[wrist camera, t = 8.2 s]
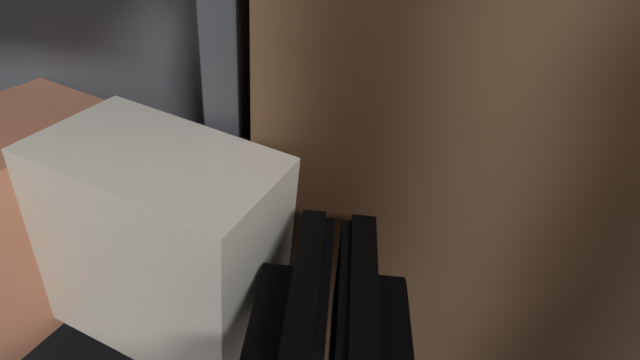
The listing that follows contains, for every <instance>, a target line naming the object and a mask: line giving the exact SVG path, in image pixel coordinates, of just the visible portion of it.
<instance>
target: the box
mask: <svg viewBox="0 0 640 360" xmlns="http://www.w3.org/2000/svg"><path fill="white" fill-rule="evenodd" d="M38 78H43V79H46V80H49V81H52V82H55V83H58V84H61V85H63V86H66V87H69V88H72V89H75V90H78V91H81V92H84V93H86V94H89V95H92V96H95V97H98V98H101V99H104V100H107V99H109V98H111V97H113V96H115V95H116V96H119V97H122V98H125V99H128V100H131V101H134V102H136V103H139V104H142V105H145V106H148V107H151V108H154V109H157V110H160V111H163V112H166V113H169V114H172V115H175V116H178V117H181V118H184V119H187V120H190V121H192V122H195V123H198V124H201V125H204V126H207V127H210V128H213V129H216V130H219V131H222V132H225V133H228V134H231V135H234V136H237V137H240V138H243V139H245V140H248V141H251V115H250V4H249V0H0V92H1V91H4V90H7V89H9V88H12V87H15V86H18V85H21V84H24V83H27V82H29V81H32V80H35V79H38ZM21 360H134V359H132V358H130V357H128V356H126V355H124V354H122V353H121V352H119V351H117V350H115V349H113V348H111V347H109V346H107V345H105V344H103V343H102V342H100V341H98V340H96V339H94V338H92V337H90V336H88V335H86V334H84V333H83V332H81V331H79V330H77V329H75V328H73V327H71V326H69V325H67V324H65V323H63V324H62V325H61V326H60V327H59V328H58V329H56V330H55V331H54V332H53V333H52V334H50V335H49V336H48V337H47V338H46V339H45V340H43V341H42V342H41V343H40V344H39V345H38V346H36V347H35V348H34V349H33V350H32V351H31V352H29V353H28V354H27V355H26V356H25V357H24V358H22V359H21Z"/></svg>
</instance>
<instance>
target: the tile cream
mask: <svg viewBox="0 0 640 360" xmlns="http://www.w3.org/2000/svg"><path fill="white" fill-rule="evenodd" d="M1 151H2V154H3V157H4V160H5V163H6V166H7V170H8V173H9V176H10V179H11V182H12V185H13V189H14V192H15V195H16V198H17V201H18V204H19V208H20V211H21V214H22V217H23V220H24V224H25V227H26V230H27V233H28V236H29V239H30V243H31V246H32V249H33V252H34V255H35V258H36V262H37V265H38V268H39V271H40V274H41V278H42V281H43V284H44V287H45V290H46V293H47V297H48V300H49V303H50V306H51V309H52V312H53V316H54V318H56V319H58V320H60V321H62V322H64V323H65V324H67V325H69V326H71V327H73V328H75V329H77V330H79V331H81V332H83V333H84V334H86V335H88V336H90V337H92V338H94V339H96V340H98V341H100V342H102V343H103V344H105V345H107V346H109V347H111V348H113V349H115V350H117V351H119V352H121V353H122V354H124V355H126V356H128V357H130V358H132V359H134V360H239V359H240V355H241V350H242V346H243V342H244V338H245V334H246V330H247V326H248V322H249V318H250V314H251V310H252V306H253V302H254V298H255V294H256V290H257V286H258V282H259V278H260V274H261V270H262V267H263V264H264V263H272V264H281V265H289V262H290V253H291V243H292V234H293V224H294V215H295V206H296V196H297V187H298V177H299V168H300V158H298V157H296V156H293V155H290V154H287V153H284V152H281V151H278V150H275V149H272V148H269V147H266V146H263V145H260V144H257V143H254V142H251V141H248V140H245V139H243V138H240V137H237V136H234V135H231V134H228V133H225V132H222V131H219V130H216V129H213V128H210V127H207V126H204V125H201V124H198V123H195V122H192V121H190V120H187V119H184V118H181V117H178V116H175V115H172V114H169V113H166V112H163V111H160V110H157V109H154V108H151V107H148V106H145V105H142V104H139V103H136V102H134V101H131V100H128V99H125V98H122V97H119V96H116V95H115V96H113V97H111V98H109V99H107V100H105V101H102V102H100V103H98V104H96V105H94V106H92V107H90V108H88V109H85V110H83V111H81V112H79V113H77V114H75V115H73V116H71V117H68V118H66V119H64V120H62V121H60V122H58V123H56V124H54V125H51V126H49V127H47V128H45V129H43V130H41V131H39V132H37V133H34V134H32V135H30V136H28V137H26V138H24V139H22V140H20V141H17V142H15V143H13V144H11V145H9V146H7V147H5V148H2V149H1Z"/></svg>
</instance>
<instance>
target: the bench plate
mask: <svg viewBox="0 0 640 360" xmlns="http://www.w3.org/2000/svg"><path fill="white" fill-rule="evenodd" d="M249 4H250V115H251V142H254V143H257V144H260V145H263V146H266V147H269V148H272V149H275V150H278V151H281V152H284V153H287V154H290V155H293V156H296V157H298V158H300V168H299V177H298V187H297V196H296V206H295V215H294V224H293V234H292V243H291V253H290V262H289V265H291V266H294V260H295V254H296V249H297V243H298V237H299V231H300V225H301V220H302V214H303V209H305V210H315V211H325V212H327V213H326V218H332V219H335V229H334V242H333V254H332V267H331V280H330V293H329V306H328V319H327V332H326V345H325V357H324V360H328V357H329V343H330V329H331V314H332V303H333V294H334V286H335V278H336V269H337V261H338V253H339V244H340V236H341V228H342V220H351V219H352V214H356V215H366V216H376V223H377V249H378V274H379V275H388V276H398V277H405V279H406V283H407V292H408V301H409V311H410V320H411V330H412V339H413V349H414V358H415V360H640V0H249Z"/></svg>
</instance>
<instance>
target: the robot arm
mask: <svg viewBox="0 0 640 360" xmlns="http://www.w3.org/2000/svg"><path fill="white" fill-rule="evenodd" d="M326 213H327V212H325V211H315V210H305V209H303V214H302V220H301V225H300V231H299V237H298V243H297V249H296V254H295V260H294V266H291V265H281V264H272V263H264V264H263V267H262V270H261V274H260V278H259V282H258V286H257V290H256V294H255V298H254V302H253V306H252V310H251V314H250V318H249V322H248V326H247V330H246V334H245V338H244V342H243V346H242V350H241V355H240V359H239V360H324V357H325V345H326V332H327V319H328V306H329V293H330V280H331V267H332V254H333V242H334V229H335V219H332V218H326ZM328 360H415V358H414V349H413V339H412V330H411V320H410V311H409V301H408V292H407V283H406V279H405V277H398V276H388V275H379V274H378V249H377V223H376V216H366V215H356V214H352V219H351V220H342V228H341V236H340V244H339V253H338V261H337V269H336V278H335V286H334V294H333V303H332V314H331V329H330V343H329V357H328Z"/></svg>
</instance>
